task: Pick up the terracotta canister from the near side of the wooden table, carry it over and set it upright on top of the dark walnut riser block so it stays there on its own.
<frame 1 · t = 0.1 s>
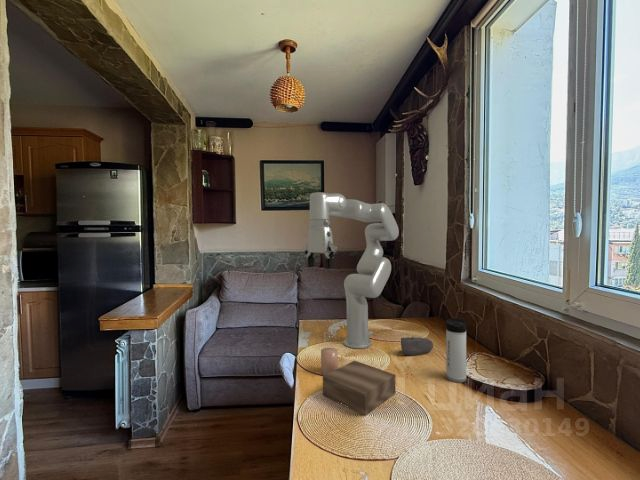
hand: (319, 267, 122), 37 cm above the table, tool pointing down, fingers open, 9 cm apart
dark grey rounded block: (416, 354, 128), on the table
terracotta canister: (329, 372, 112), on the table
walnut riser block: (359, 394, 97), on the table
travel mug: (456, 378, 107), on the table
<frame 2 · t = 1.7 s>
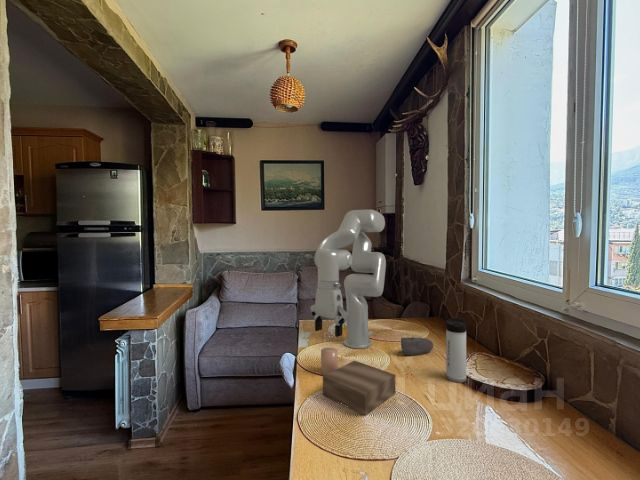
hand: (328, 333, 111), 15 cm above the table, tool pointing down, fingers open, 9 cm apart
nothing on the table moved.
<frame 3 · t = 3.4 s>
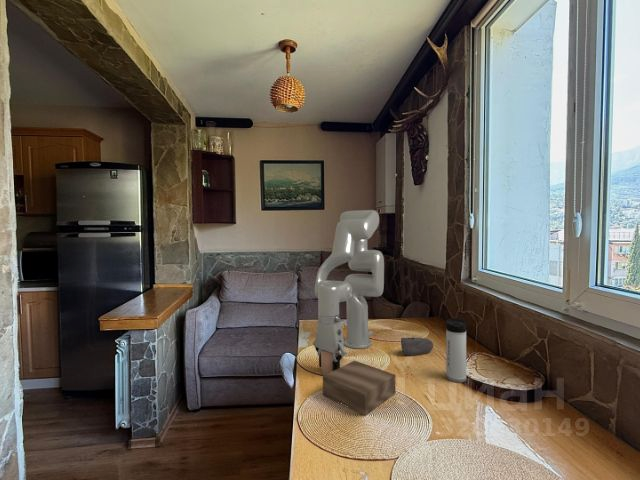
hand: (329, 368, 112), 2 cm above the table, tool pointing down, fingers closed on terracotta canister, 6 cm apart
terracotta canister: (329, 372, 112), on the table, touching gripper
everything else where it was.
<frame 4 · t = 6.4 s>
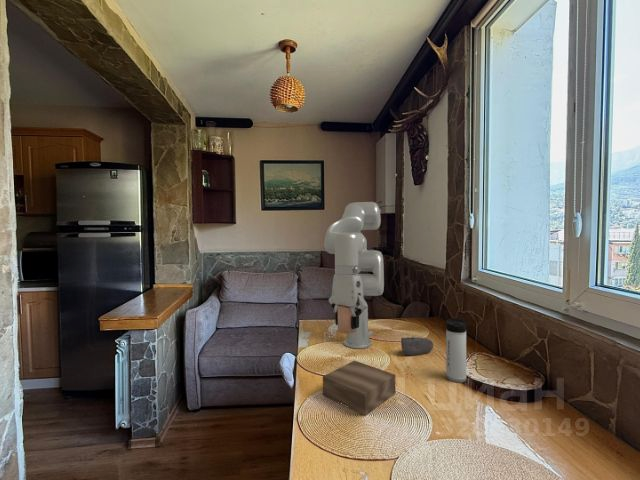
hand: (347, 325, 101), 20 cm above the table, tool pointing down, fingers closed on terracotta canister, 6 cm apart
terracotta canister: (346, 330, 101), point 18 cm above the table, touching gripper
everything else where it was.
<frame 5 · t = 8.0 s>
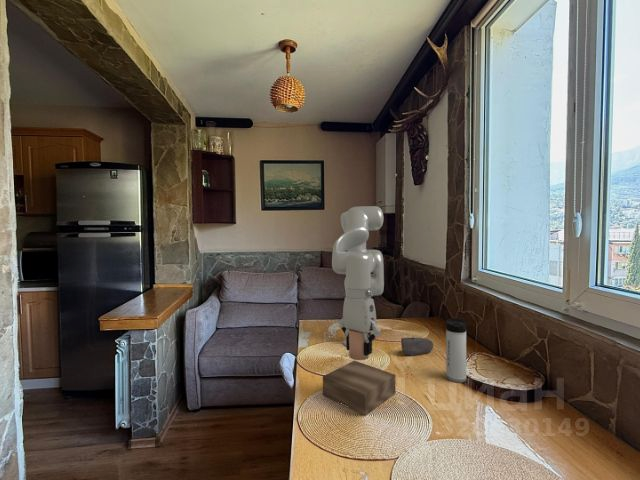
hand: (358, 351, 96), 14 cm above the table, tool pointing down, fingers closed on terracotta canister, 6 cm apart
terracotta canister: (358, 356, 96), point 12 cm above the table, touching gripper
everything else where it was.
when the fingers open (9 cm above the table, at t = 9.3 s): terracotta canister drops 1 cm, resting on walnut riser block.
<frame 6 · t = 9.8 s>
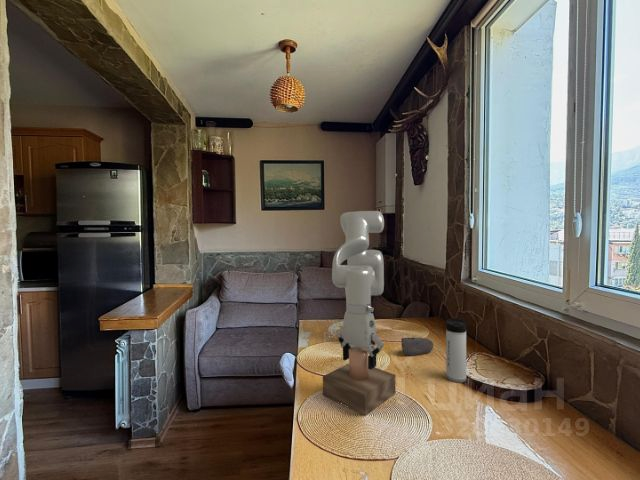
hand: (359, 363, 96), 10 cm above the table, tool pointing down, fingers open, 9 cm apart
terracotta canister: (359, 375, 97), point 6 cm above the table, touching walnut riser block
everything else where it was.
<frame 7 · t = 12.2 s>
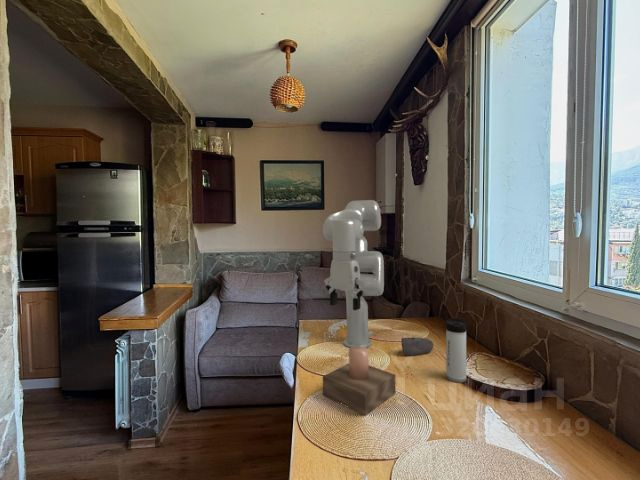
hand: (344, 307, 105), 25 cm above the table, tool pointing down, fingers open, 9 cm apart
nothing on the table moved.
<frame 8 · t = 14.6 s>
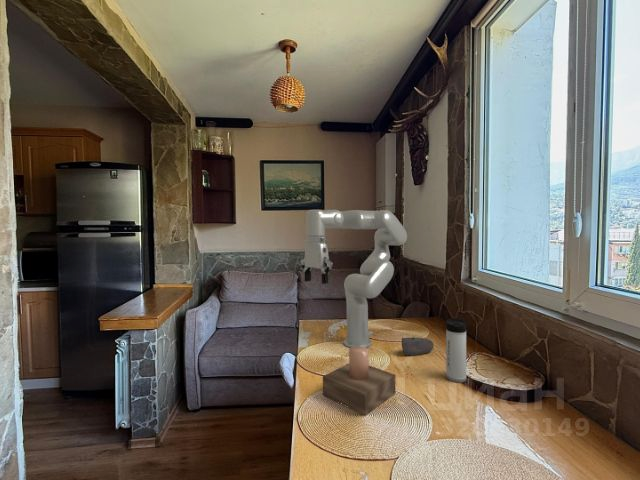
hand: (316, 282, 127), 30 cm above the table, tool pointing down, fingers open, 9 cm apart
nothing on the table moved.
at the end: terracotta canister inside the target area on the walnut riser block (0.1 cm from its centre), point 6.0 cm above the walnut riser block's base; terracotta canister tilted 0°; the gripper is holding nothing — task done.
